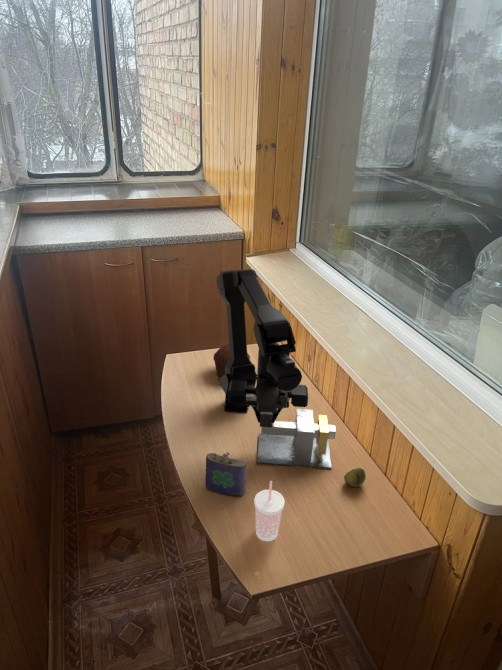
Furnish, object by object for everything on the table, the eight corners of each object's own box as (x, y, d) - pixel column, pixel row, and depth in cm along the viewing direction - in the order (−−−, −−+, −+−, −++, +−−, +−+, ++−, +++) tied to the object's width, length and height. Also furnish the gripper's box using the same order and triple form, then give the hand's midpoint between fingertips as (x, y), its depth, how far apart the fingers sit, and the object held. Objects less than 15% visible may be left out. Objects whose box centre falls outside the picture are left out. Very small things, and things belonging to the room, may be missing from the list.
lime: (340, 485, 119) (343, 469, 117) (350, 474, 123) (353, 458, 120) (358, 494, 117) (361, 478, 115) (367, 483, 120) (370, 466, 118)
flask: (245, 490, 117) (247, 454, 112) (242, 499, 114) (243, 462, 109) (207, 481, 119) (207, 445, 114) (203, 490, 116) (202, 453, 111)
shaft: (259, 434, 125) (260, 414, 123) (259, 427, 128) (260, 406, 125) (334, 440, 125) (337, 419, 122) (333, 432, 128) (336, 411, 125)
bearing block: (257, 463, 125) (259, 431, 120) (259, 435, 134) (261, 403, 130) (331, 469, 124) (336, 436, 119) (327, 440, 134) (332, 408, 129)
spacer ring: (317, 454, 125) (320, 431, 122) (315, 436, 131) (318, 414, 128) (325, 454, 125) (328, 432, 122) (323, 437, 131) (326, 415, 128)
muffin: (248, 386, 155) (250, 358, 150) (211, 385, 155) (212, 356, 150) (249, 366, 165) (250, 339, 161) (214, 364, 165) (215, 337, 161)
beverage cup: (267, 516, 110) (271, 466, 104) (287, 534, 106) (293, 483, 100) (246, 530, 106) (248, 479, 100) (266, 549, 102) (270, 498, 96)
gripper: (226, 383, 111) (224, 440, 119) (311, 389, 111) (305, 446, 118) (230, 358, 121) (229, 411, 128) (309, 363, 121) (303, 417, 128)
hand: (266, 421), depth 125 cm, fingers closed on shaft, 3 cm apart
